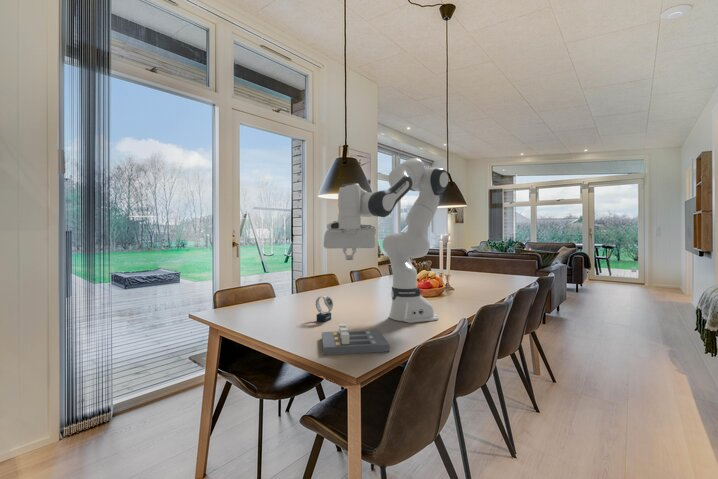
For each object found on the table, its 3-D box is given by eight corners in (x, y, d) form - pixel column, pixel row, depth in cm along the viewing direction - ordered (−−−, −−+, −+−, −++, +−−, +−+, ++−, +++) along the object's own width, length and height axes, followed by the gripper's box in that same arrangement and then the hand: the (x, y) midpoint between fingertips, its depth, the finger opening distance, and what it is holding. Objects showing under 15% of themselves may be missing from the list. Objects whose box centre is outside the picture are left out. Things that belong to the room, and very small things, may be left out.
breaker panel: (379, 336, 137) (379, 329, 137) (389, 351, 120) (389, 344, 120) (321, 338, 134) (321, 331, 134) (323, 355, 117) (323, 347, 117)
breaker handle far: (345, 332, 133) (345, 323, 133) (346, 334, 131) (346, 325, 131) (338, 332, 133) (338, 323, 133) (339, 334, 130) (339, 325, 130)
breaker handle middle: (346, 336, 128) (346, 327, 128) (347, 338, 125) (347, 329, 125) (340, 336, 128) (340, 328, 127) (340, 339, 125) (340, 330, 125)
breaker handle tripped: (348, 341, 123) (348, 332, 122) (349, 344, 120) (349, 334, 120) (341, 341, 122) (341, 332, 122) (342, 344, 120) (342, 334, 119)
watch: (328, 323, 155) (328, 298, 155) (313, 320, 159) (313, 296, 158) (335, 320, 160) (335, 295, 160) (319, 317, 164) (319, 294, 163)
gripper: (374, 224, 144) (373, 258, 144) (323, 224, 141) (323, 259, 141) (377, 224, 137) (376, 260, 138) (323, 224, 135) (323, 261, 135)
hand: (349, 259), depth 140 cm, fingers closed
